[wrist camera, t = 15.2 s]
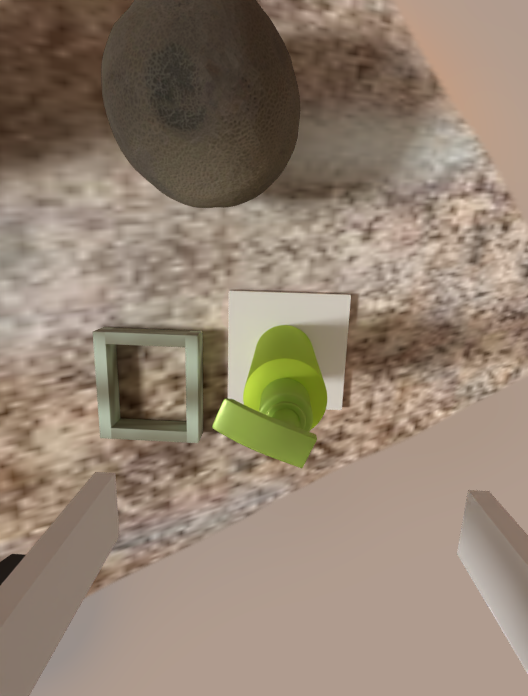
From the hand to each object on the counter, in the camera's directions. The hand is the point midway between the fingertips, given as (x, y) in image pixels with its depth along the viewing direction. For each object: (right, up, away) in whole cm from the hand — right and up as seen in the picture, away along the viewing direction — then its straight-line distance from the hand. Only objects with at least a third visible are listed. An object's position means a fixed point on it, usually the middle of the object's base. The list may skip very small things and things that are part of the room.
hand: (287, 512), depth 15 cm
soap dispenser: (+1, +6, +26) cm, 26 cm away
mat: (+1, +6, +26) cm, 27 cm away
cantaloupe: (-5, +26, +22) cm, 34 cm away
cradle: (-13, +3, +28) cm, 30 cm away
